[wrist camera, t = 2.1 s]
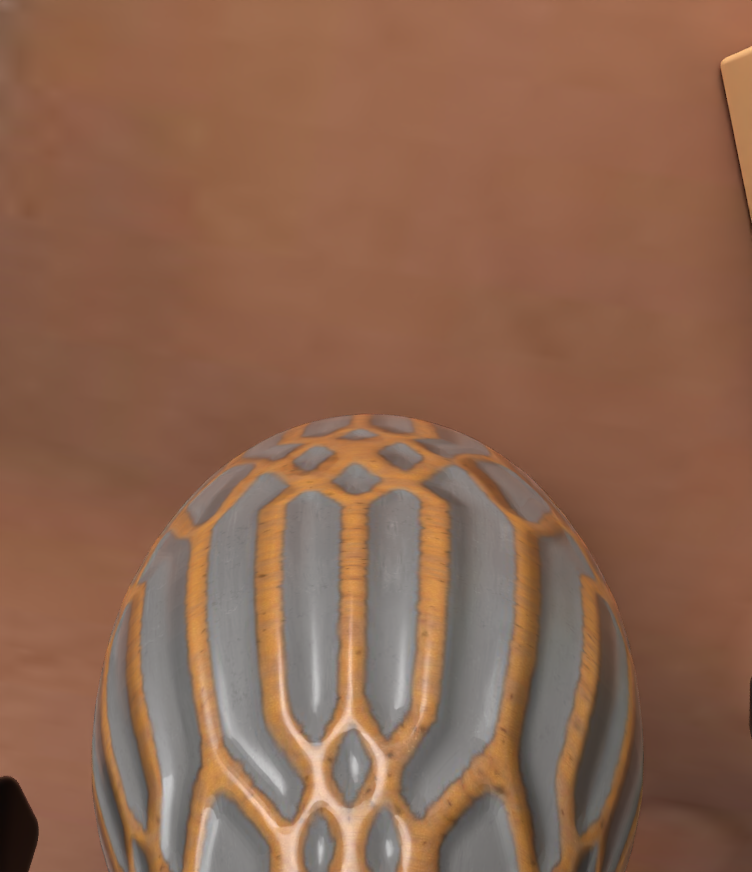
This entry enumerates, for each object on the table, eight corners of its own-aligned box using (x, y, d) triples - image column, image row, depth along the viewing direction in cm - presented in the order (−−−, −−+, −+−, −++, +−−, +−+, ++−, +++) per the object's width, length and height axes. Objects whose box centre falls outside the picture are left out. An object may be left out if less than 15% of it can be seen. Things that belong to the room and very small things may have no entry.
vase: (157, 391, 11) (-429, 885, 3) (546, 345, 11) (1028, 764, 3) (233, 697, 14) (12, 1437, 6) (555, 667, 13) (832, 1408, 5)
